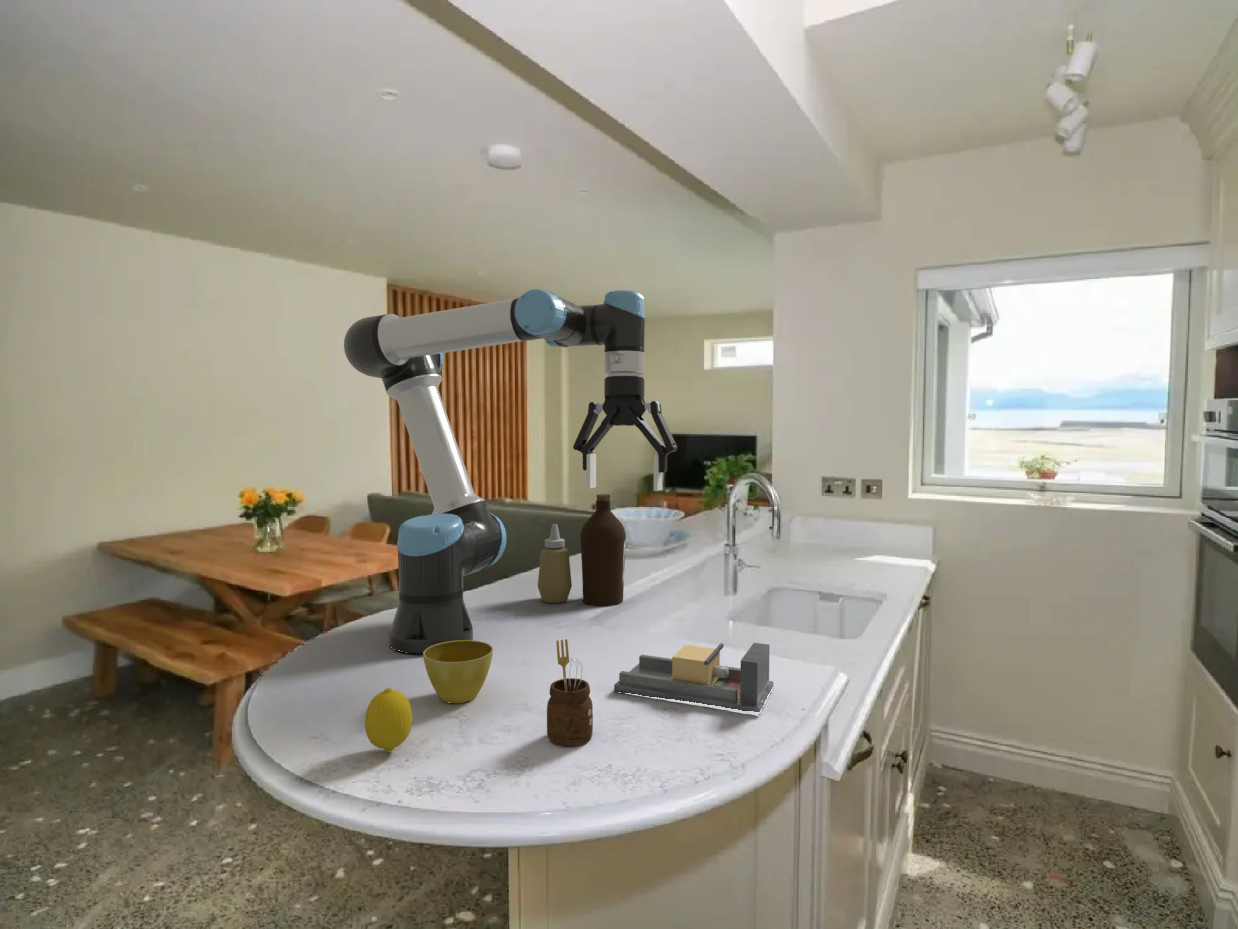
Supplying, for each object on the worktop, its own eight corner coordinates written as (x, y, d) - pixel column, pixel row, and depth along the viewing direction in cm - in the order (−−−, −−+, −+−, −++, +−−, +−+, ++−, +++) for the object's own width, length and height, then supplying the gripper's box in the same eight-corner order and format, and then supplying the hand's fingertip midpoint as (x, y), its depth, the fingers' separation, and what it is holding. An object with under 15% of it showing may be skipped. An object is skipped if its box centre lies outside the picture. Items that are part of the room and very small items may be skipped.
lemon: (372, 742, 87) (371, 680, 86) (416, 741, 87) (416, 679, 87) (359, 763, 81) (358, 697, 81) (407, 761, 82) (406, 696, 81)
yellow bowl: (477, 714, 96) (477, 664, 95) (411, 708, 97) (410, 659, 97) (502, 687, 106) (502, 642, 105) (441, 683, 107) (441, 638, 107)
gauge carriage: (669, 689, 101) (669, 656, 101) (687, 669, 110) (687, 639, 109) (719, 697, 98) (719, 663, 98) (734, 676, 107) (734, 645, 106)
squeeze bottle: (574, 597, 163) (574, 522, 162) (568, 605, 155) (569, 527, 154) (541, 596, 164) (541, 521, 163) (533, 604, 156) (533, 526, 155)
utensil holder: (555, 752, 84) (555, 656, 84) (540, 731, 90) (540, 642, 89) (599, 744, 87) (599, 650, 86) (582, 724, 92) (582, 637, 92)
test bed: (614, 692, 104) (614, 645, 103) (640, 669, 114) (640, 626, 113) (759, 716, 95) (759, 665, 95) (773, 689, 105) (774, 643, 105)
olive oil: (588, 608, 153) (588, 497, 151) (574, 597, 162) (574, 493, 161) (632, 604, 156) (632, 495, 155) (616, 594, 166) (617, 491, 165)
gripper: (555, 376, 129) (556, 488, 130) (682, 372, 119) (681, 493, 120) (573, 379, 136) (573, 485, 137) (694, 375, 126) (693, 489, 127)
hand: (624, 489), depth 129 cm, fingers open, 13 cm apart
